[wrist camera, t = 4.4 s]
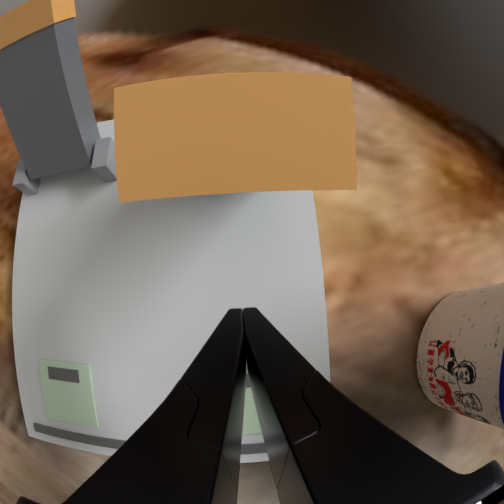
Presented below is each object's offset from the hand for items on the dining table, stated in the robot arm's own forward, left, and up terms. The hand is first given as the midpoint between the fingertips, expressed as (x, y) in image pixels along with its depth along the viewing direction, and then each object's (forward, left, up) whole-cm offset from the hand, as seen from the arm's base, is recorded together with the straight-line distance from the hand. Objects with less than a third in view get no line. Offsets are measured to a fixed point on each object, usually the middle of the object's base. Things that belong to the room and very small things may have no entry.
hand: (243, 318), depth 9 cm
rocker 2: (+9, 0, -7) cm, 12 cm away
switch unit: (+2, +6, -8) cm, 10 cm away
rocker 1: (+9, +11, -7) cm, 16 cm away
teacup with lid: (-6, -16, -8) cm, 19 cm away
